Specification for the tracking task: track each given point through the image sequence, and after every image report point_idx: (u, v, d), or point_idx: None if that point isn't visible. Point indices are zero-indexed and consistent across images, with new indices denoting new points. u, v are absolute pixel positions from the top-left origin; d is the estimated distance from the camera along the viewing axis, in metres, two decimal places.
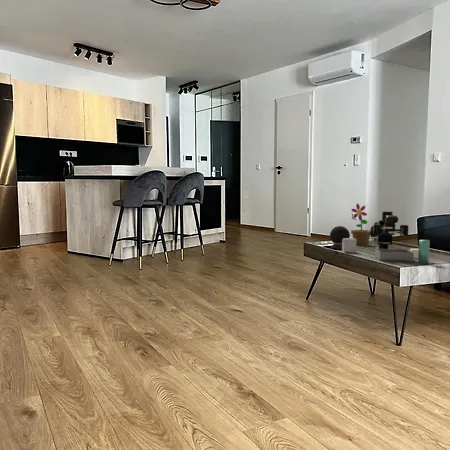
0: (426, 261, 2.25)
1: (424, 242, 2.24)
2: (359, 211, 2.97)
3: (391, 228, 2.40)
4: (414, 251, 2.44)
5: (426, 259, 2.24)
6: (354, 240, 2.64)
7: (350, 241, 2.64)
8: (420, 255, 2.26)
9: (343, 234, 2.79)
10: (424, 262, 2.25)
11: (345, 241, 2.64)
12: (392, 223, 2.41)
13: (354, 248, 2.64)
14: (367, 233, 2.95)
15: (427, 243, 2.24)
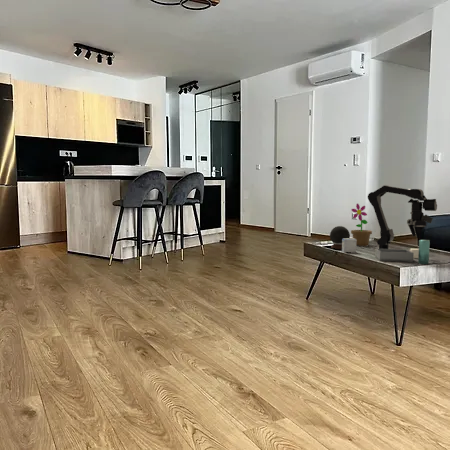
0: (426, 261, 2.25)
1: (424, 242, 2.24)
2: (359, 211, 2.97)
3: None
4: (414, 251, 2.44)
5: (426, 259, 2.24)
6: (354, 240, 2.64)
7: (350, 241, 2.64)
8: (420, 255, 2.26)
9: (343, 234, 2.79)
10: (424, 262, 2.25)
11: (345, 241, 2.64)
12: None
13: (354, 248, 2.64)
14: (367, 233, 2.95)
15: (427, 243, 2.24)
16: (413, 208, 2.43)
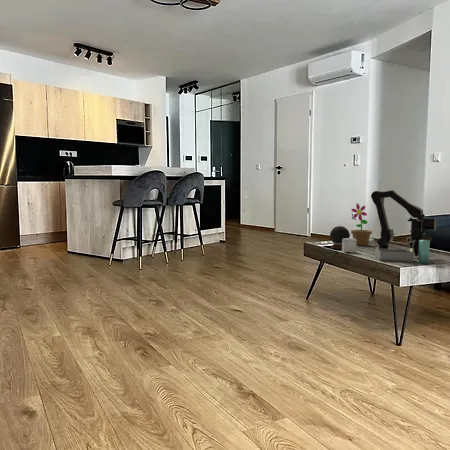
0: (426, 261, 2.25)
1: (424, 242, 2.24)
2: (359, 211, 2.97)
3: None
4: None
5: (426, 259, 2.24)
6: (354, 240, 2.64)
7: (350, 241, 2.64)
8: (420, 255, 2.26)
9: (343, 234, 2.79)
10: (424, 262, 2.25)
11: (345, 241, 2.64)
12: None
13: (354, 248, 2.64)
14: (367, 233, 2.95)
15: (427, 243, 2.24)
16: (413, 227, 2.44)
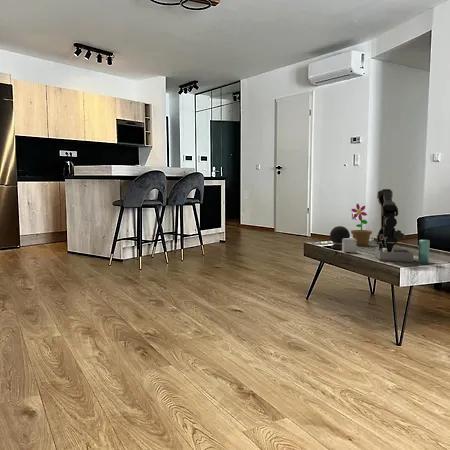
0: (426, 261, 2.25)
1: (424, 242, 2.24)
2: (359, 211, 2.97)
3: None
4: (386, 251, 2.37)
5: (426, 259, 2.24)
6: (354, 240, 2.64)
7: (350, 241, 2.64)
8: (420, 255, 2.26)
9: (343, 234, 2.79)
10: (424, 262, 2.25)
11: (345, 241, 2.64)
12: None
13: (354, 248, 2.64)
14: (367, 233, 2.95)
15: (427, 243, 2.24)
16: None
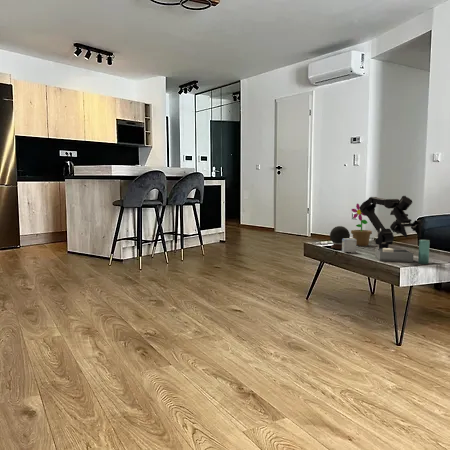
0: (426, 261, 2.25)
1: (424, 242, 2.24)
2: (359, 211, 2.97)
3: None
4: (386, 251, 2.37)
5: (426, 259, 2.24)
6: (354, 240, 2.64)
7: (350, 241, 2.64)
8: (420, 255, 2.26)
9: (343, 234, 2.79)
10: (424, 262, 2.25)
11: (345, 241, 2.64)
12: None
13: (354, 248, 2.64)
14: (367, 233, 2.95)
15: (427, 243, 2.24)
16: (395, 215, 2.44)
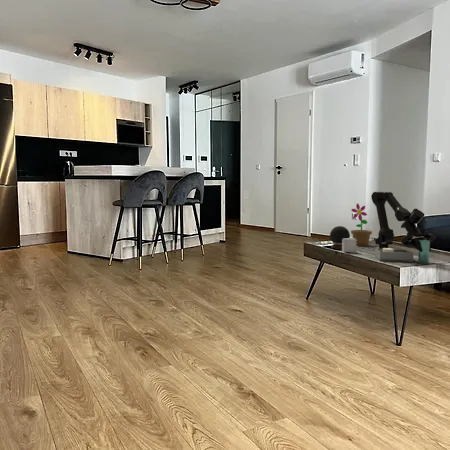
0: (426, 261, 2.25)
1: (424, 242, 2.24)
2: (359, 211, 2.97)
3: None
4: (386, 251, 2.37)
5: (426, 259, 2.24)
6: (354, 240, 2.64)
7: (350, 241, 2.64)
8: (420, 255, 2.26)
9: (343, 234, 2.79)
10: (424, 262, 2.25)
11: (345, 241, 2.64)
12: None
13: (354, 248, 2.64)
14: (367, 233, 2.95)
15: (427, 243, 2.24)
16: (406, 228, 2.36)
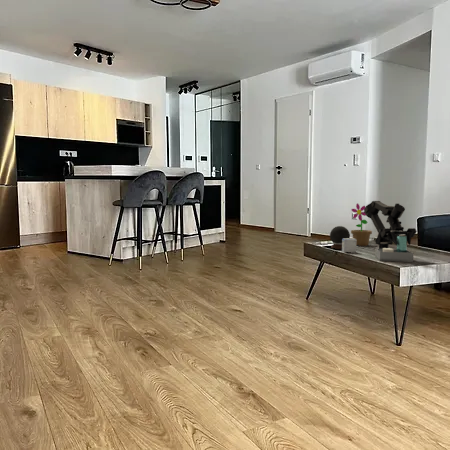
0: None
1: (400, 238, 2.33)
2: (359, 211, 2.97)
3: (395, 234, 2.40)
4: (386, 251, 2.37)
5: None
6: (354, 240, 2.64)
7: (350, 241, 2.64)
8: (397, 250, 2.35)
9: (343, 234, 2.79)
10: None
11: (345, 241, 2.64)
12: None
13: (354, 248, 2.64)
14: (367, 233, 2.95)
15: (403, 239, 2.33)
16: (389, 223, 2.45)
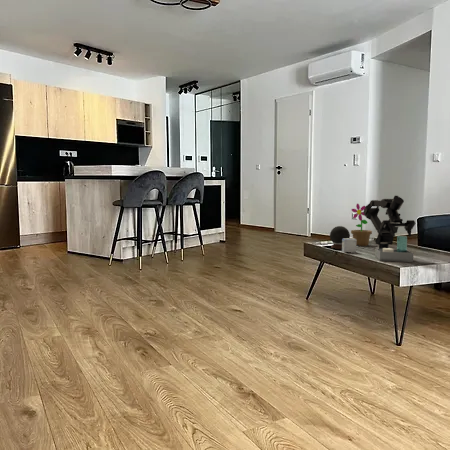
0: None
1: (401, 238, 2.33)
2: (359, 211, 2.97)
3: (396, 225, 2.41)
4: (386, 251, 2.37)
5: None
6: (354, 240, 2.64)
7: (350, 241, 2.64)
8: (397, 250, 2.35)
9: (343, 234, 2.79)
10: None
11: (345, 241, 2.64)
12: None
13: (354, 248, 2.64)
14: (367, 233, 2.95)
15: (404, 239, 2.33)
16: (388, 215, 2.47)
